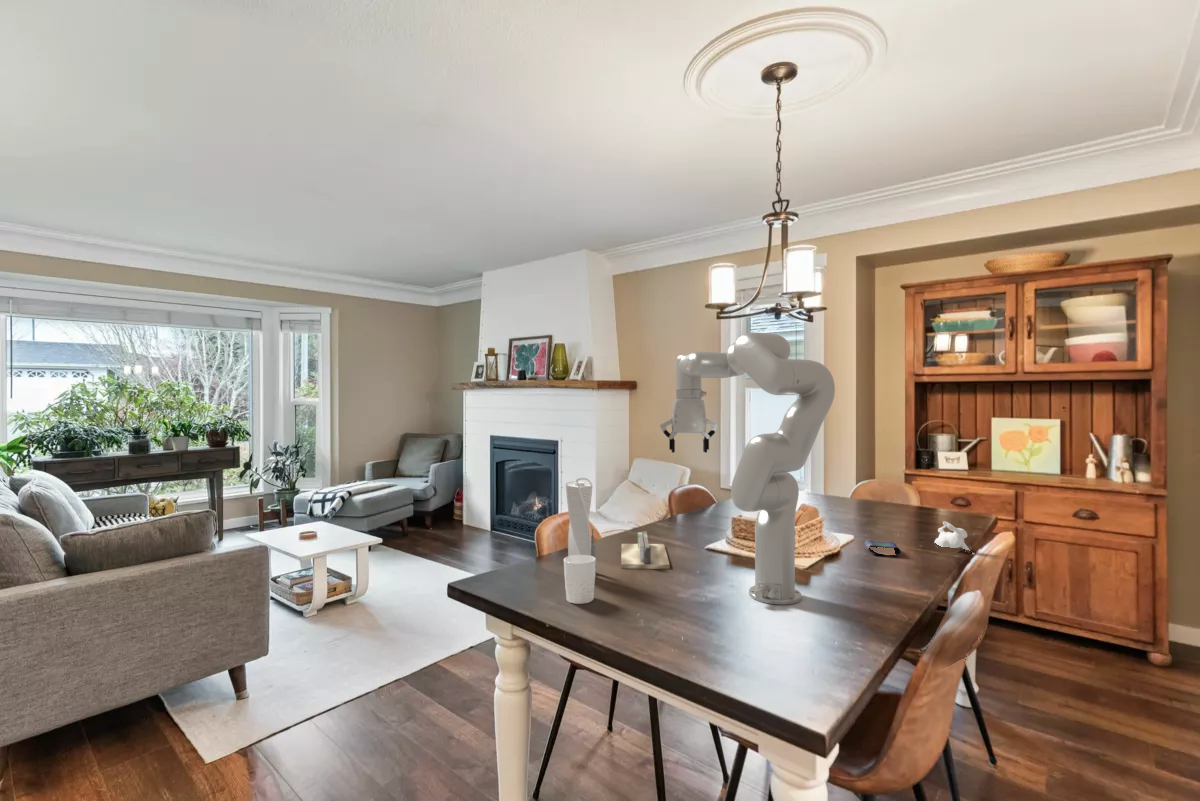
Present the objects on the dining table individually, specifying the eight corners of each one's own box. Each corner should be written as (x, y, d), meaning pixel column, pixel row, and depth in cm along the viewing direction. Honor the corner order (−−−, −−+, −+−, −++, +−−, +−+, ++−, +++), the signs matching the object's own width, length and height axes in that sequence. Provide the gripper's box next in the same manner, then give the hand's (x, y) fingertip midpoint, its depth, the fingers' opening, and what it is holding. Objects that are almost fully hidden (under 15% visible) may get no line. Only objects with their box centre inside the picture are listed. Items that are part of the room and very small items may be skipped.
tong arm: (642, 546, 188) (642, 532, 188) (644, 561, 170) (644, 546, 170) (637, 546, 188) (637, 532, 188) (639, 561, 170) (639, 546, 170)
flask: (868, 544, 180) (863, 538, 190) (868, 554, 180) (863, 547, 190) (901, 547, 178) (894, 540, 188) (901, 557, 177) (894, 550, 188)
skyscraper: (595, 582, 156) (594, 478, 156) (565, 582, 156) (564, 478, 156) (596, 573, 164) (595, 474, 164) (567, 573, 164) (567, 474, 164)
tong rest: (663, 548, 191) (663, 530, 191) (669, 569, 167) (669, 549, 167) (621, 548, 191) (621, 530, 191) (621, 569, 167) (621, 548, 167)
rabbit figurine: (976, 554, 182) (976, 523, 182) (960, 557, 179) (959, 526, 179) (941, 545, 193) (941, 516, 193) (925, 548, 190) (925, 518, 190)
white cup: (597, 594, 146) (597, 554, 146) (594, 605, 138) (593, 563, 138) (566, 593, 147) (566, 554, 147) (561, 604, 139) (561, 563, 139)
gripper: (715, 395, 178) (716, 451, 177) (659, 395, 178) (659, 451, 178) (719, 395, 170) (720, 453, 170) (660, 395, 171) (661, 453, 171)
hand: (689, 452), depth 174 cm, fingers open, 9 cm apart
